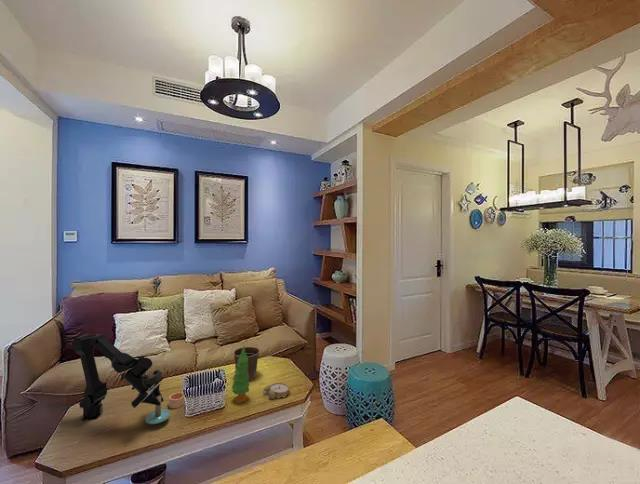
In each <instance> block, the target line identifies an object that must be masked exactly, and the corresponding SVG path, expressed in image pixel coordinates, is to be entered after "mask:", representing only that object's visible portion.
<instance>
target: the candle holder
mask: <svg viewBox="0 0 640 484" xmlns="http://www.w3.org/2000/svg"><path fill="white" fill-rule="evenodd" d="M268 391H269V392H268ZM291 392H292V390H290V386H289V385H288V384H286V383H285V382H284V383H282V382H275V383H272V384H268V385H266V386H265V388H264V389H263V391H262V394H263V395H264V396H266V397H268V398H269V399H270V398H271V399H270V400H274V399H279V398H278V397H283V396H286V395H287V394H288V393H291ZM288 395H289V394H288ZM275 397H276V398H275ZM286 397H287V396H286Z"/></svg>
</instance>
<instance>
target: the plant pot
mask: <svg viewBox="0 0 640 484" xmlns="http://www.w3.org/2000/svg"><path fill="white" fill-rule="evenodd" d="M243 347H244V348H245V352H246V356H247V358H248V361H247V362H248V368H247V369H248V381H252V380H255V379H256V377H257V369H258V361H259V356H260V353H261V351H260V350H261V349H259V348H258V347H255V346H242V347H240V348H236V349H234V351H233V353H232V354H233V357H234V358H233V359H234V363H235V364H234V365H235V369H236V368H237V366H236V365H237V363H238V359H239V357H240V355H241V352H242V349H243Z"/></svg>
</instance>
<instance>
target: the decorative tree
mask: <svg viewBox="0 0 640 484" xmlns="http://www.w3.org/2000/svg"><path fill="white" fill-rule="evenodd" d="M242 347H243V349H242V352H241V355H240V357H239V359H238V363H237V365H236V366H237V368H236V367H235V370H234V376H233V378H232V381H233V384H232V385H231V389H232V390H231V392H232V393H234V395H237V397H236V398H235V399H234V401H235V402H236V403H238V404H239V402H240V403H244V402H245V401H247V393H248V392H249V391H250V380H248V369H247V368H248V362H247V361H248V358H247V356H246V352H245V348H244V347H245V346H242ZM243 401H244V402H243Z"/></svg>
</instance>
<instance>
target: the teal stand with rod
mask: <svg viewBox="0 0 640 484" xmlns="http://www.w3.org/2000/svg"><path fill="white" fill-rule="evenodd" d="M156 398H157V399H158V400H159V402H160V403H161V404H160V405H159V406H158V405H154V407H155V408H154V409H155V410H153V411H151V412H149V413H148V414H147V415H146V416H145V422H146V423H147V424H149V425H156V424H160V423H163V422H165V421H166V420H167V419H168V418H170V415H171V411H170V410H169V409H168V408H167V409H166V408H162V402H161V396H156Z"/></svg>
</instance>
